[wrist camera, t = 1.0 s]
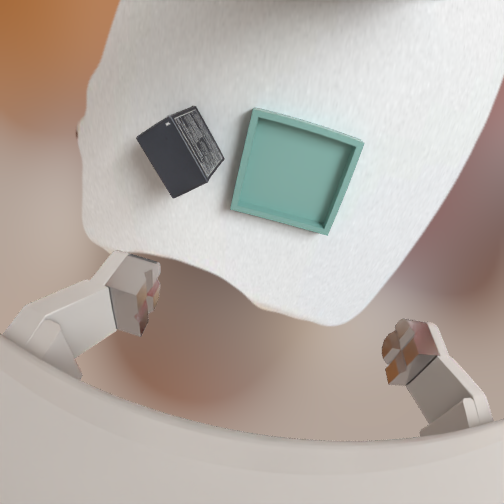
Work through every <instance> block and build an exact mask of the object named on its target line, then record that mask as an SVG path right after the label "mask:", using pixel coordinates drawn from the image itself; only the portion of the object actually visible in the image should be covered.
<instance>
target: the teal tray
mask: <svg viewBox="0 0 504 504" xmlns="http://www.w3.org/2000/svg"><path fill="white" fill-rule="evenodd" d="M363 146H364V142H363V141H361V140H360V139H358V138H355V137H352V136H350V135H347V134H344V133H341V132H338V131H335V130H333V129H330V128H327V127H324V126H320V125H317V124H314V123H311V122H308V121H304V120H301V119H297V118H294V117H290V116H287V115H283V114H279V113H276V112H272V111H268V110H263V109H259V108H254V109H253V112H252V116H251V120H250V124H249V128H248V133H247V137H246V141H245V145H244V150H243V154H242V158H241V163H240V167H239V171H238V176H237V180H236V185H235V189H234V194H233V199H232V203H231V208H230V210H234V211H238V212H242V213H246V214H250V215H254V216H258V217H261V218H265V219H269V220H273V221H277V222H280V223H284V224H288V225H291V226H295V227H299V228H302V229H306V230H309V231H313V232H316V233H320V234H324V235H327V236H328V233H329V231H330V229H331V226H332V224H333V222H334V219H335V217H336V215H337V212H338V210H339V207H340V205H341V203H342V200H343V198H344V195H345V193H346V190H347V188H348V185H349V183H350V180H351V178H352V175H353V172H354V170H355V167H356V165H357V162H358V159H359V157H360V154H361V151H362V149H363Z"/></svg>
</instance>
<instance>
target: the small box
mask: <svg viewBox="0 0 504 504" xmlns="http://www.w3.org/2000/svg"><path fill="white" fill-rule="evenodd" d="M136 139H137V140H138V142H139V144H140V145H141V147H142V149H143V150H144V152H145V154H146V155H147V157H148V159H149V160H150V162H151V164H152V165H153V167H154V169H155V170H156V172H157V173H158V175H159V177H160V178H161V180H162V182H163V183H164V185H165V187H166V188H167V190H168V191H169V193H170V195H171V196H172V198H176V197H178V196H180V195H182V194H185V193H187V192H189V191H191V190H193V189H195V188H197V187H199V186H201V185H203V184H205V183H207V182H208V181H209V179H210V177H211V176H212V175H213V173H214V172H215V171H216V169H217V168H218V167H219V165H220V164H221V163H222V161H224V157H223V155H222V153H221V151H220V149H219V148H218V146H217V144H216V142H215V140H214V138H213V136H212V135H211V133H210V131H209V129H208V127H207V125H206V124H205V122H204V120H203V118H202V116H201V115H200V113H199V111H198V109H197V108H196V106H192V107H190V108H188V109H185V110H182V111H180V112H177V113H175V114H173V115H169V116H168V117H166V118H165V119H163V120H161V121H160V122H158V123H157V124H155V125H154V126H152V127H151V128H149V129H148V130H146V131H145V132H143V133H142V134H140V135H139V136H137V138H136Z"/></svg>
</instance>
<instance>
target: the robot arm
mask: <svg viewBox="0 0 504 504" xmlns="http://www.w3.org/2000/svg"><path fill="white" fill-rule="evenodd" d="M159 274H160V264H159V262H156V261H153V260H149V259H146V258H143V257H139V256H136V255H133V254H129V253H126V252H122V251H119V250H116V251H113V252H112V253H111V255H110V256H109V257H108V258H107V259H106V261H105V262H104V263H103V264H102V265H101V267H100V268H99V269H98V270H97V272H96V273H95V274H94V275H93V277H92V278H91V279H90V280H86V279H85V280H83V281H80V282H78V283H76V284H73V285H71V286H68V287H66V288H64V289H61V290H59V291H57V292H54V293H52V294H50V295H47V296H45V297H43V298H40V299H38V300H36V301H34V302H31V303H29V304H27V305H25V306H24V307H23V308H22V309H21V311H20V312H19V313H18V315H17V316H16V317H15V318H14V320H13V321H12V322H11V324H10V325H9V326H8V328H7V329H6V331H5V332H4V333H3V335H2V334H0V504H504V419H501V420H498V421H495V422H493V418H492V414H491V411H490V407H489V404H488V401H487V398H486V395H485V394H484V393H483V391H482V390H481V389H480V388H479V387H478V386H477V384H476V383H475V382H474V381H473V380H472V379H471V378H470V377H469V375H468V374H467V373H466V372H465V371H464V370H463V369H462V368H461V366H460V365H459V364H458V363H457V362H456V361H455V360H454V359H453V358H452V357H449V354H448V352H447V349H446V346H445V344H444V342H443V339H442V337H441V334H440V332H439V329H438V327H437V326H436V325H435V324H434V323H429V322H420V321H415V320H409V319H401V320H400V321H399V322H398V323H397V324H396V325H395V331H394V332H392V333H390V334H388V336H387V337H386V338H385V340H384V342H383V346H382V356H383V359H384V361H385V362H386V363H387V366H386V369H385V371H386V375H387V380H388V384H389V385H403V386H406V387H407V389H408V391H409V392H410V394H411V395H412V397H413V399H414V400H415V402H416V403H417V405H418V407H419V408H420V410H421V411H422V413H423V415H424V416H425V418H426V420H427V421H428V423H429V425H427V426H426V427H424V428H423V429H421V431H420V437H413V438H404V439H392V440H375V441H325V440H306V439H295V438H285V437H276V436H268V435H261V434H254V433H248V432H242V431H236V430H231V429H226V428H222V427H217V426H212V425H208V424H204V423H200V422H195V421H192V420H188V419H184V418H181V417H177V416H174V415H170V414H166V413H164V412H160V411H157V410H154V409H151V408H148V407H145V406H142V405H139V404H136V403H134V402H131V401H128V400H126V399H123V398H121V397H118V396H115V395H113V394H111V393H108V392H106V391H103V390H101V389H99V388H96V387H94V386H92V385H90V384H88V383H85V382H83V381H81V380H80V379H81V377H82V373H81V370H80V368H79V366H78V364H77V362H76V360H75V358H77V357H78V356H79V355H81V354H82V353H84V352H85V351H87V350H88V349H90V348H91V347H93V346H94V345H96V344H97V343H99V342H100V341H102V340H103V339H105V338H106V337H108V336H109V335H111V334H112V333H114V332H115V331H116V329H118V330H121V331H124V332H127V333H130V334H133V335H136V336H140V337H141V336H142V334H143V332H144V330H145V328H146V325H147V324H148V314H149V313H151V312H153V311H154V309H155V307H156V305H157V302H158V298H159V294H160V282H159V281H158V280H157V278H158V276H159Z"/></svg>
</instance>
